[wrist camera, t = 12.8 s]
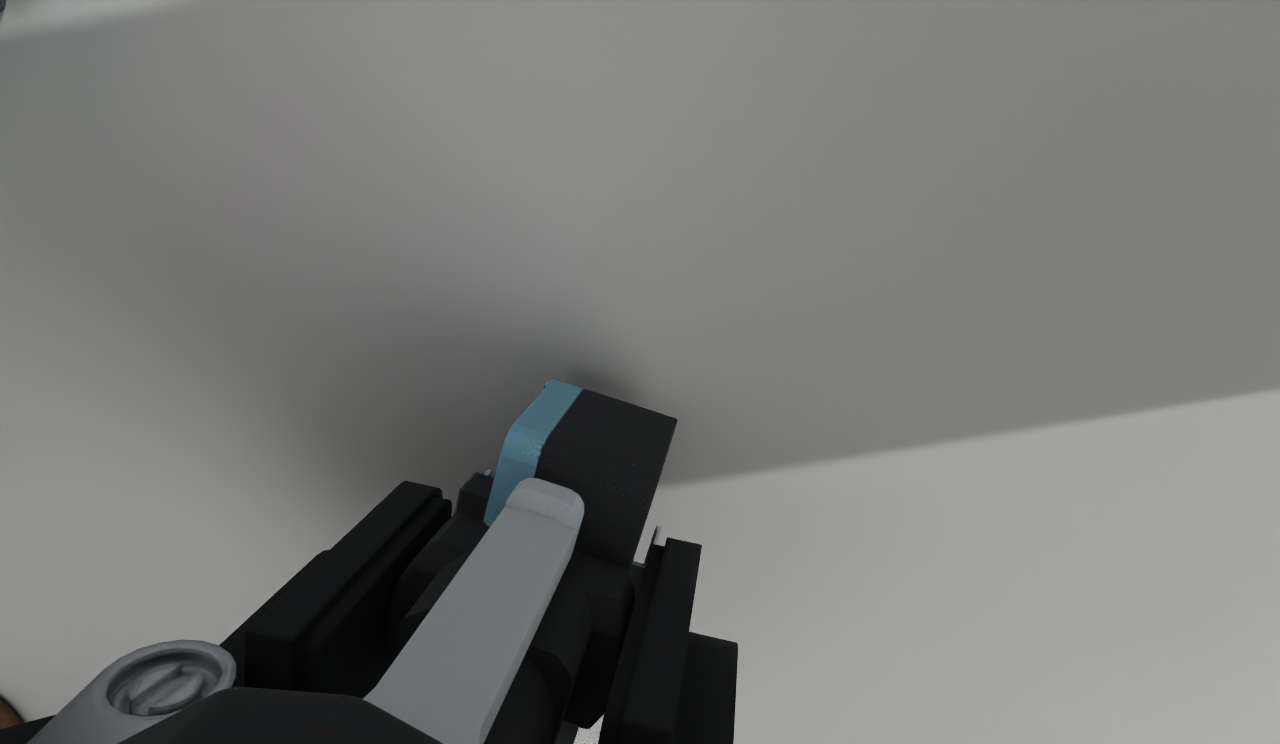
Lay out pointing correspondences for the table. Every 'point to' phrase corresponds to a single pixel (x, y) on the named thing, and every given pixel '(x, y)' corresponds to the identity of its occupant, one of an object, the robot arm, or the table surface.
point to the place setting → (7, 716)
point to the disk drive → (2, 5)
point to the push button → (493, 599)
